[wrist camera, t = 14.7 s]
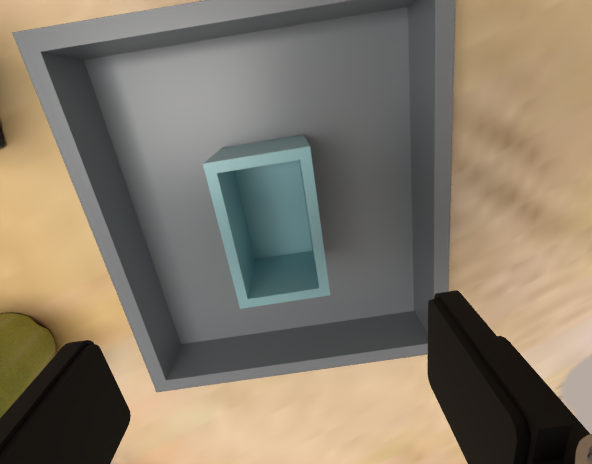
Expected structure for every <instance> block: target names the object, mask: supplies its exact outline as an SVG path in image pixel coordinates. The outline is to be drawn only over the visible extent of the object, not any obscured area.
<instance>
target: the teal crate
mask: <svg viewBox="0 0 592 464" xmlns="http://www.w3.org/2000/svg"><path fill="white" fill-rule="evenodd" d="M203 167H204V170H205V174H206V178H207V182H208V186H209V190H210V194H211V198H212V202H213V206H214V209H215V213H216V217H217V221H218V225H219V229H220V233H221V237H222V241H223V244H224V248H225V252H226V256H227V260H228V264H229V268H230V272H231V276H232V280H233V283H234V287H235V291H236V295H237V299H238V303H239V307H240V309H243V308H249V307H256V306H263V305H269V304H276V303H282V302H289V301H296V300H302V299H309V298H316V297H322V296H329V295H330V289H329V282H328V275H327V267H326V260H325V252H324V245H323V238H322V230H321V223H320V216H319V208H318V201H317V194H316V186H315V179H314V172H313V164H312V157H311V150H310V145H309V143H308V142H307V140H306V138H305V136H304V134H303V135H297V136H291V137H284V138H278V139H272V140H266V141H260V142H254V143H248V144H242V145H236V146H229V147H223V148H221V149H220V150H219V151H218V152H216V153H215V154H214V155H213V156H212V157H210V158H209V159H208V160H207V161H205V162H204V163H203Z"/></svg>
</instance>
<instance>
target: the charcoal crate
mask: <svg viewBox="0 0 592 464" xmlns="http://www.w3.org/2000/svg"><path fill="white" fill-rule="evenodd" d="M12 33H13V36H14V38H15V41H16V43H17V46H18V48H19V51H20V53H21V56H22V58H23V61H24V63H25V66H26V68H27V71H28V73H29V76H30V78H31V81H32V83H33V86H34V88H35V91H36V93H37V95H38V98H39V100H40V103H41V105H42V108H43V110H44V113H45V115H46V118H47V120H48V123H49V125H50V128H51V130H52V133H53V135H54V138H55V140H56V143H57V145H58V148H59V150H60V153H61V155H62V158H63V160H64V163H65V165H66V168H67V170H68V173H69V175H70V178H71V180H72V183H73V185H74V188H75V190H76V193H77V195H78V198H79V200H80V203H81V205H82V208H83V210H84V213H85V215H86V217H87V220H88V222H89V225H90V227H91V230H92V232H93V235H94V237H95V240H96V242H97V245H98V247H99V250H100V252H101V255H102V257H103V260H104V262H105V265H106V267H107V270H108V272H109V275H110V277H111V280H112V282H113V285H114V287H115V290H116V292H117V295H118V297H119V300H120V302H121V305H122V307H123V310H124V312H125V315H126V317H127V320H128V322H129V325H130V327H131V330H132V332H133V334H134V337H135V339H136V342H137V344H138V347H139V349H140V352H141V354H142V357H143V359H144V362H145V364H146V367H147V369H148V372H149V374H150V377H151V379H152V382H153V384H154V387H155V389H156V392H162V391H169V390H177V389H184V388H191V387H198V386H205V385H212V384H219V383H227V382H234V381H241V380H248V379H255V378H262V377H269V376H277V375H284V374H291V373H298V372H305V371H312V370H319V369H327V368H334V367H341V366H348V365H355V364H362V363H369V362H377V361H384V360H391V359H398V358H405V357H412V356H419V355H427V354H428V301H429V300H431V299H434V296H435V294H436V293H442V292H448V286H449V244H450V202H451V161H452V119H453V78H454V36H455V0H204V1H198V2H192V3H186V4H180V5H174V6H168V7H162V8H156V9H150V10H144V11H138V12H132V13H126V14H120V15H114V16H108V17H102V18H96V19H90V20H84V21H78V22H72V23H66V24H60V25H54V26H48V27H42V28H36V29H30V30H24V31H18V32H12ZM303 134H304V136H305V138H306V140H307V142H308V143H309V145H310V150H311V157H312V164H313V172H314V179H315V186H316V194H317V201H318V208H319V216H320V223H321V230H322V238H323V245H324V252H325V260H326V267H327V275H328V282H329V289H330V295H329V296H322V297H316V298H309V299H302V300H296V301H289V302H282V303H276V304H269V305H263V306H256V307H249V308H243V309H240V307H239V303H238V299H237V295H236V291H235V287H234V283H233V280H232V276H231V272H230V268H229V264H228V260H227V256H226V252H225V248H224V244H223V241H222V237H221V233H220V229H219V225H218V221H217V217H216V213H215V209H214V206H213V202H212V198H211V194H210V190H209V186H208V182H207V178H206V174H205V170H204V167H203V163H204V162H205V161H207V160H208V159H209V158H210V157H212V156H213V155H214V154H215V153H216V152H218V151H219V150H220V149H221V148H223V147H229V146H236V145H242V144H248V143H254V142H260V141H266V140H272V139H278V138H284V137H291V136H297V135H303Z"/></svg>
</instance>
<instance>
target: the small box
mask: <svg viewBox="0 0 592 464" xmlns="http://www.w3.org/2000/svg"><path fill="white" fill-rule="evenodd" d="M3 146H4V144H3V138H2V134H1V131H0V149H2V148H3Z"/></svg>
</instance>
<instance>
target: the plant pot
mask: <svg viewBox="0 0 592 464" xmlns="http://www.w3.org/2000/svg"><path fill="white" fill-rule="evenodd" d="M55 353H56V344H55V341H54V338H53V336H52V335H51V333H50V332H49V331H48V329H46V328H44V327H41V326H39V325H38V324H36V323H35V322H34V321H33V320H32V318H30V317H28V316H25V315H21V314H16V313H4V314H0V418H1V417H2V416H3V415H4V413H5V412H6V411H7V410H8V409H9V408H10V407H11V405H12V404H13V403H14V402H15V401H16V400H17V399H18V397H19V396H20V395H21V394H22V393H23V392H24V391H25V389H26V388H27V387H28V386H29V385H30V384H31V383H32V381H33V380H34V379H35V378H36V377H37V376H38V375H39V373H40V372H41V371H42V370H43V369H44V368H45V367H46V365H47V364H48V363H49V362H50V361H51V360H52V359H53V357H54V356H55Z"/></svg>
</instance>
